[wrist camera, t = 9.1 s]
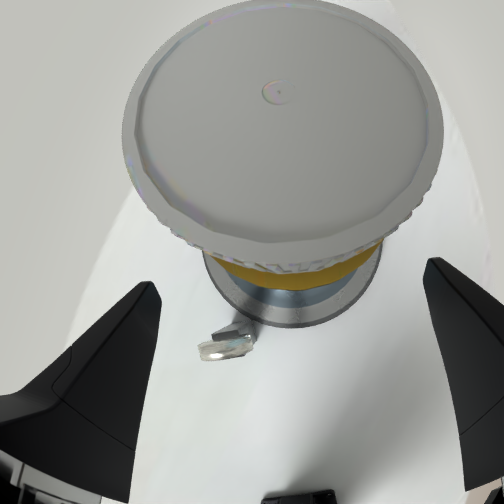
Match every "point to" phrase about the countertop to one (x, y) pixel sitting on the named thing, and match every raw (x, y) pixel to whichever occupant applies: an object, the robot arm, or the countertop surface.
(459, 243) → the countertop surface
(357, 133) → the bottle
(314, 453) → the countertop surface
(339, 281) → the platter
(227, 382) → the countertop surface
